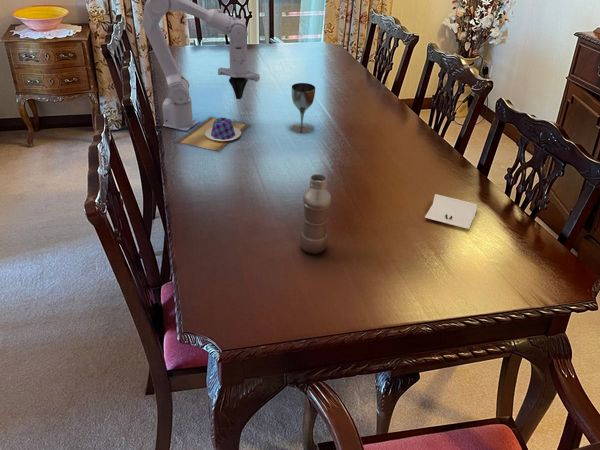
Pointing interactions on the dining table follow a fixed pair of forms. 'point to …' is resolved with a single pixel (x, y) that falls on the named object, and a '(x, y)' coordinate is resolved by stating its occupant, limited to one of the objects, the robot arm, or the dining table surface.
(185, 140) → the placemat
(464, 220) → the folded paper
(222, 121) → the pudding
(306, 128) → the wine glass
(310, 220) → the plastic bottle
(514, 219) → the dining table surface
